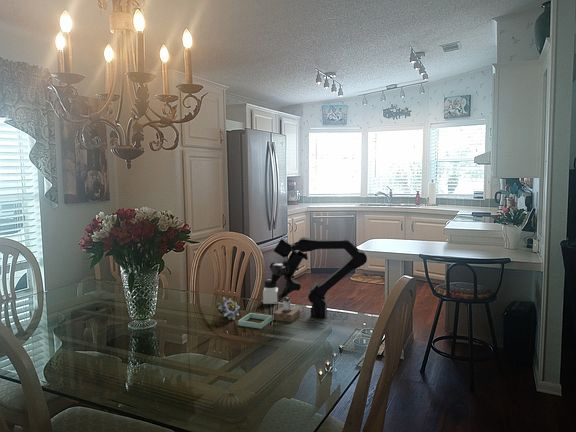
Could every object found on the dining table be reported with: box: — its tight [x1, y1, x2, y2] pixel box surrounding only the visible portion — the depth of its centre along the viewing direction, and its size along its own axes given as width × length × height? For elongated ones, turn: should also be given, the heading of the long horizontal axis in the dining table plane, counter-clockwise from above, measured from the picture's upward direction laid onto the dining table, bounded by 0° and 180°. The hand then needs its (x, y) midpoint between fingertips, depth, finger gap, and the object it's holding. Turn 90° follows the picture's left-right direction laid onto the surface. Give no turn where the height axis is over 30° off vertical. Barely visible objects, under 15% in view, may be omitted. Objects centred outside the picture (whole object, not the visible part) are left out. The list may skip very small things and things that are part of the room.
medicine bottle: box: [262, 279, 279, 305], centre depth 222 cm, size 7×7×12 cm
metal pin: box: [282, 296, 291, 313], centre depth 198 cm, size 3×3×9 cm
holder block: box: [272, 306, 301, 323], centre depth 199 cm, size 9×9×4 cm
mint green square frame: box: [237, 312, 273, 330], centre depth 193 cm, size 11×11×3 cm
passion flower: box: [215, 296, 241, 321], centre depth 202 cm, size 11×11×12 cm
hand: (275, 291), depth 200 cm, fingers open, 9 cm apart
